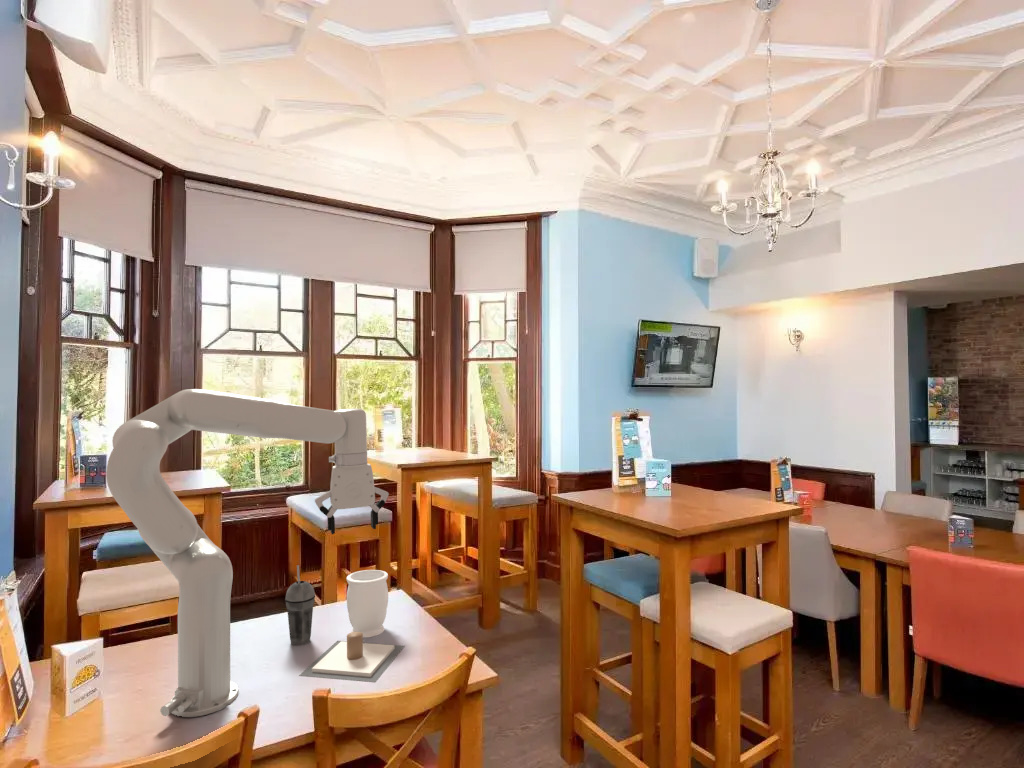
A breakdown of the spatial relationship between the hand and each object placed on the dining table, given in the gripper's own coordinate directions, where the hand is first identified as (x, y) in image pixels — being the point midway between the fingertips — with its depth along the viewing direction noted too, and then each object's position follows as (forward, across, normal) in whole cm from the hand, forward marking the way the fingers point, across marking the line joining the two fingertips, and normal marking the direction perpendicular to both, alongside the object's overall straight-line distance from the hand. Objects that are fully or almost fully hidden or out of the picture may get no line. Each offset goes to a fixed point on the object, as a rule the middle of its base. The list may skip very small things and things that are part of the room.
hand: (353, 530), depth 140 cm
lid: (+29, -1, -5) cm, 30 cm away
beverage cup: (+30, -12, +11) cm, 34 cm away
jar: (+30, +4, +11) cm, 32 cm away
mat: (+30, -1, -5) cm, 30 cm away
